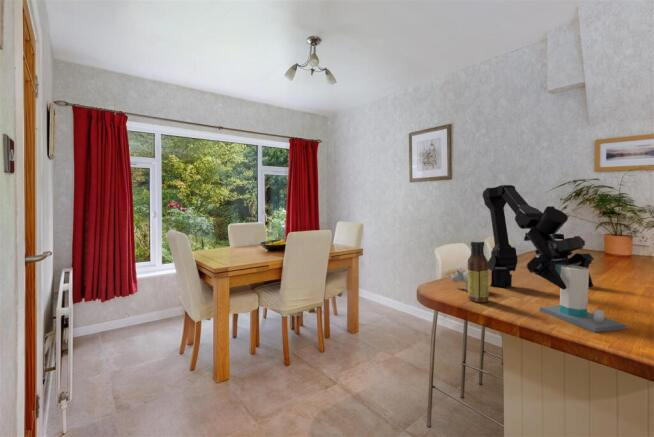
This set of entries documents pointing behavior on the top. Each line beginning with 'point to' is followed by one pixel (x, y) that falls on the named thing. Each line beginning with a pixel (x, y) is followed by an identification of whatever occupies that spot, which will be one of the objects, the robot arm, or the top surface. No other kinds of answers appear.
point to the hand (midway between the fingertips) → (578, 287)
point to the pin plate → (586, 319)
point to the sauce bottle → (478, 273)
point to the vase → (574, 290)
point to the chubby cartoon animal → (460, 277)
